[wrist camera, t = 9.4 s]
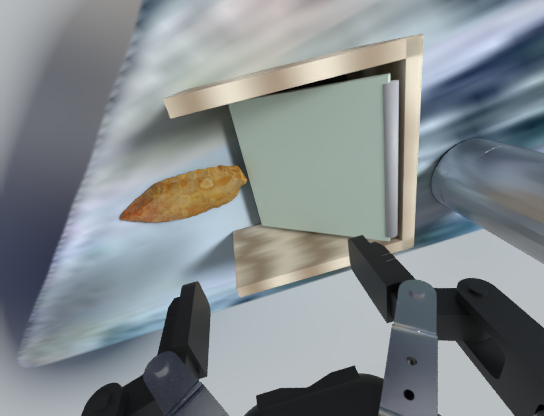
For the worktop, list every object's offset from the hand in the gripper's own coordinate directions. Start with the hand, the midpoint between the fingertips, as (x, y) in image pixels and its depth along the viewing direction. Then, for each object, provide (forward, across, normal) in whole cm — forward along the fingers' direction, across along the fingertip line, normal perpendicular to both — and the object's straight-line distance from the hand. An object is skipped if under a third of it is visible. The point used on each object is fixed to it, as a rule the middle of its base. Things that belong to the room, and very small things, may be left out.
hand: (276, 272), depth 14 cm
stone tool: (+15, 0, 0) cm, 16 cm away
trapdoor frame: (+18, -4, 0) cm, 19 cm away
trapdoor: (+13, -6, 0) cm, 14 cm away
